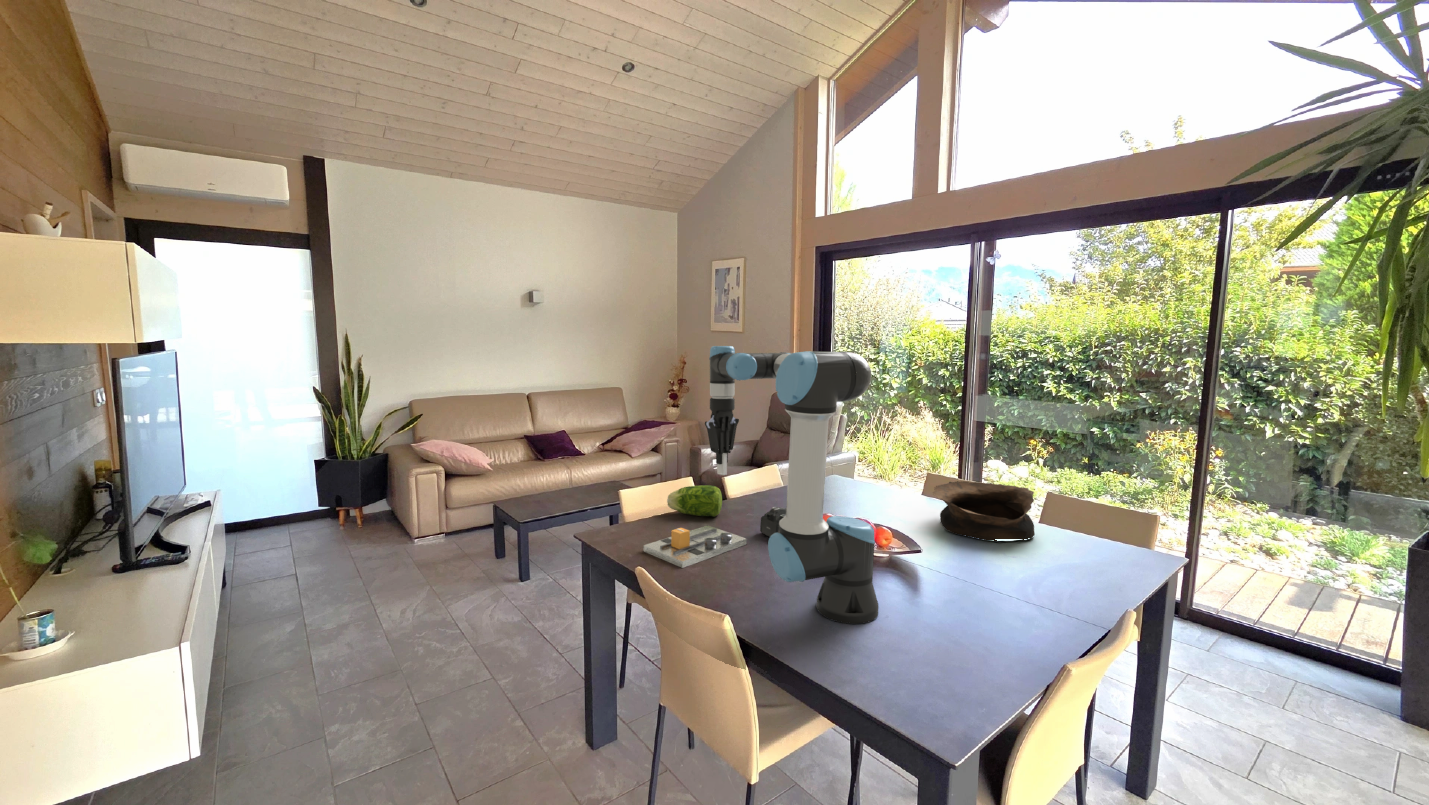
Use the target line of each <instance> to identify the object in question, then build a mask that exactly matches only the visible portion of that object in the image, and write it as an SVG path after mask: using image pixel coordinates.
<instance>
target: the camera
mask: <svg viewBox="0 0 1429 805" xmlns="http://www.w3.org/2000/svg"><path fill="white" fill-rule="evenodd" d="M785 516H786V507H782V506H781V507H778V506H777V507H776V506H773V507H771V509H770V510H769V511H767V512H766V513H764V515H762V516H761V517H760V527H759V530H760V533H761V534H763V535H765V536H767V537H769V538H770V537H771V535H772V534H774V533H779V522H780V520H781V519H782V518H784V517H785Z"/></svg>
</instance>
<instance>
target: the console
mask: <svg viewBox="0 0 1429 805" xmlns="http://www.w3.org/2000/svg"><path fill="white" fill-rule="evenodd" d="M689 531H690V546H687V547H684V548H681V549H678V548H675V547H672V546H671V536H669V537H666V538H663V539H659V540H657V541H653V542H649V543H646V544H643V552H644V553H646V554H648V555H651V556H653V557H655V558H657V559H661V560H663V561H665V562H667V563H670V564H672V565H674V566H676V567H679V568H682V569H684V568H686V567H689V566H692V565H695V564H697V563H700V562H703V561H706V560H708V559H710V558H714V557H716V556H719V555H722V554H724V553H727V552H730V551H733V550H735V549H738V548H741V547H744V546H746V545H747V540H748V539H747V538H745V537H743V536H740V535H737V534H735V533H732V532H728V531H726V530H722V529H720V528H717V527H713V526H711V525H708V524H707V525H704V526H701V527H698V528H695V529H692V530H689Z"/></svg>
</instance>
